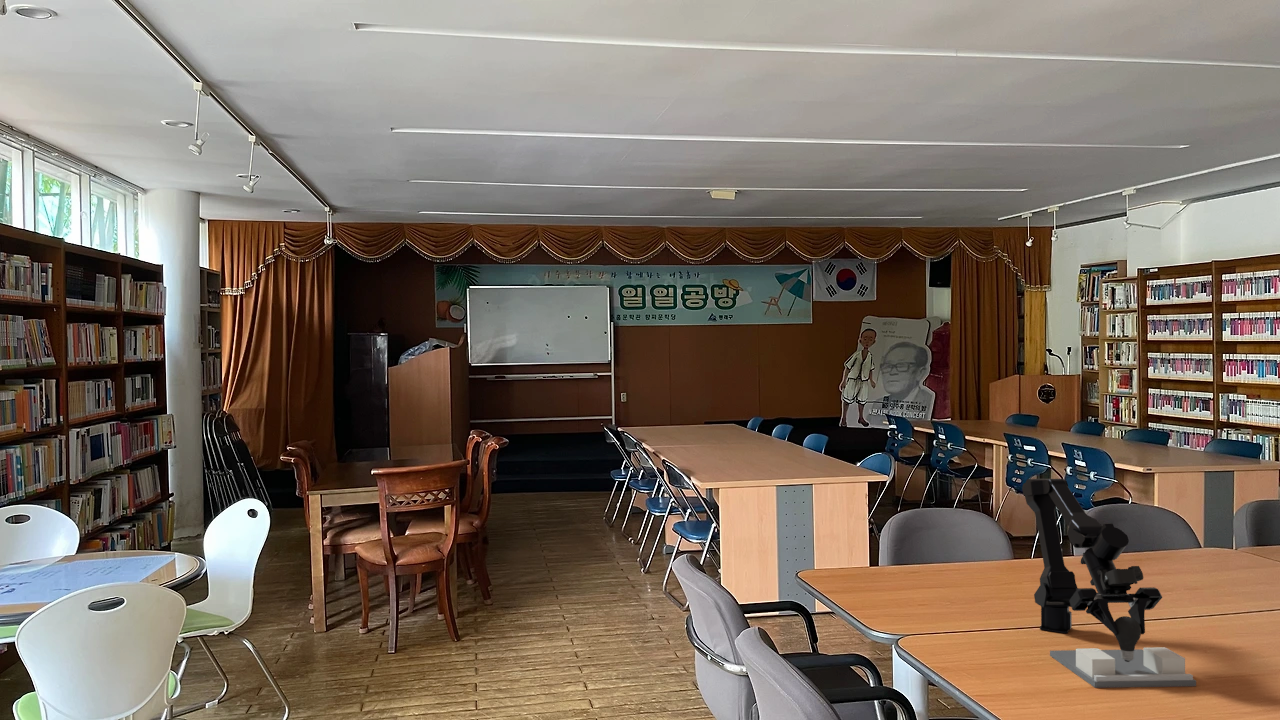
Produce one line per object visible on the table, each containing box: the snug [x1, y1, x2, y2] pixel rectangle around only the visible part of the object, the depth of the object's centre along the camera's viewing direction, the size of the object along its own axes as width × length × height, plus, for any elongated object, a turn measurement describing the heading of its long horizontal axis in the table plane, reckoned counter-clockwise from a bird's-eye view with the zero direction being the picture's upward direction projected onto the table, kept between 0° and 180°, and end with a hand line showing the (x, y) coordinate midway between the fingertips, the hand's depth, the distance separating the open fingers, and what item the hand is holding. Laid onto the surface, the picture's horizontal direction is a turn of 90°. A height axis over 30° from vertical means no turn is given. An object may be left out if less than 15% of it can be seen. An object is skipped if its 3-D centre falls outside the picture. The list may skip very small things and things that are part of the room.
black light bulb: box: [1113, 615, 1142, 662], centre depth 197 cm, size 6×6×10 cm
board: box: [1049, 646, 1197, 689], centre depth 200 cm, size 20×22×5 cm
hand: (1130, 633), depth 195 cm, fingers closed on black light bulb, 6 cm apart
